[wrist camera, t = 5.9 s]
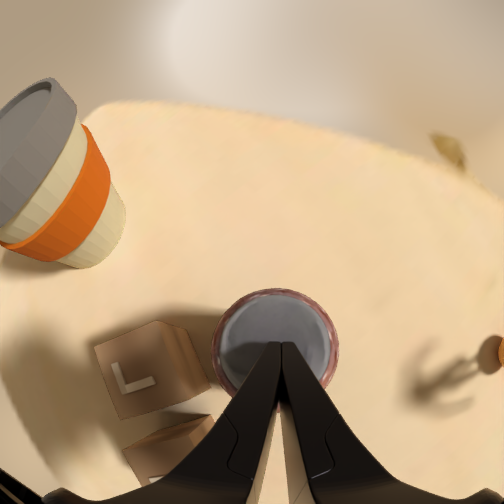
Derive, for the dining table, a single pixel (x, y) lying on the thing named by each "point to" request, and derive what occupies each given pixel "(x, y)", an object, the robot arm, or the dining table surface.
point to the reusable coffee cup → (54, 182)
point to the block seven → (150, 369)
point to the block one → (165, 449)
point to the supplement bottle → (272, 335)
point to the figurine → (501, 352)
